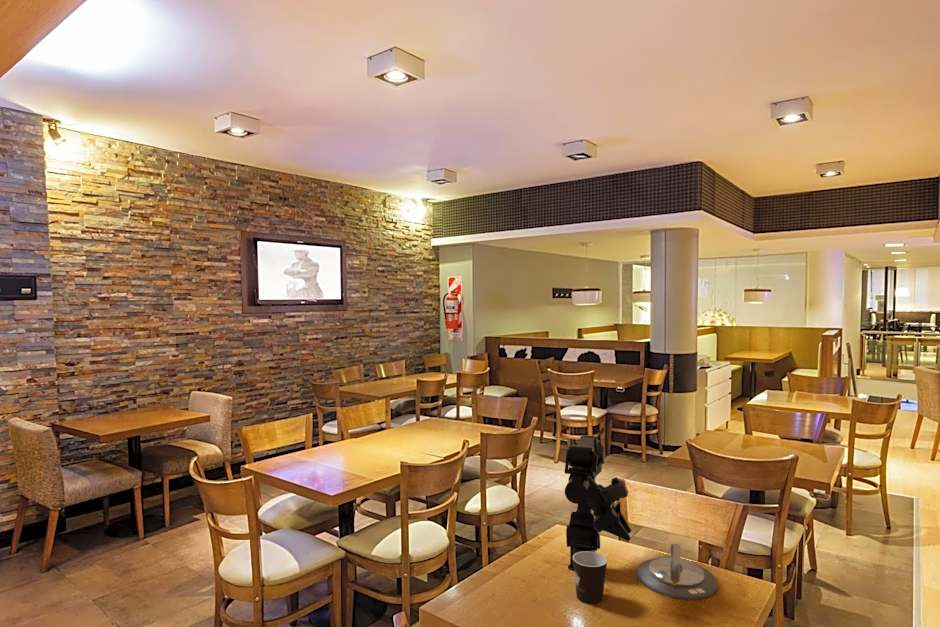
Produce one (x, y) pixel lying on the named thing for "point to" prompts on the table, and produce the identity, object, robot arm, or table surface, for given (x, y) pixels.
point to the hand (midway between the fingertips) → (629, 535)
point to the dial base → (673, 591)
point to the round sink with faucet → (676, 570)
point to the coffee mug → (589, 576)
